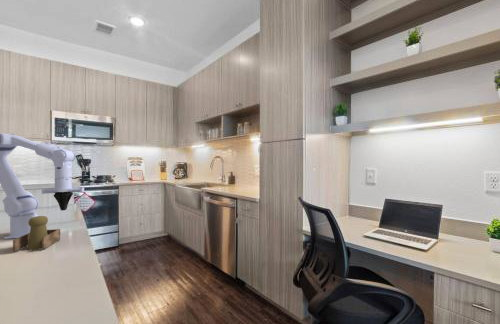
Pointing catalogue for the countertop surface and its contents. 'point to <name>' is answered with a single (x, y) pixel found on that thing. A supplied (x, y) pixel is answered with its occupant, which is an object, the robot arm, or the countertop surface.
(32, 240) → the cork
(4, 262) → the countertop surface
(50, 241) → the wooden bracket shelf
